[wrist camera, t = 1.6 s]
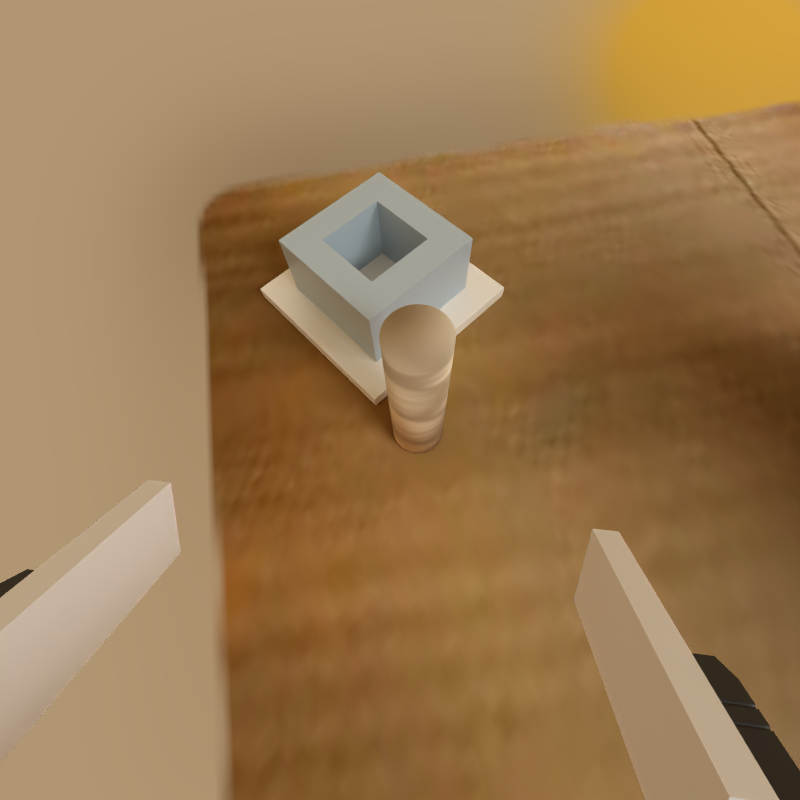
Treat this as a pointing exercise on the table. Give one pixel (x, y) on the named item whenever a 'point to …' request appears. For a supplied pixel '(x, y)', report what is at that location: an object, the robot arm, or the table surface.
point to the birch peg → (417, 373)
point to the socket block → (374, 276)
